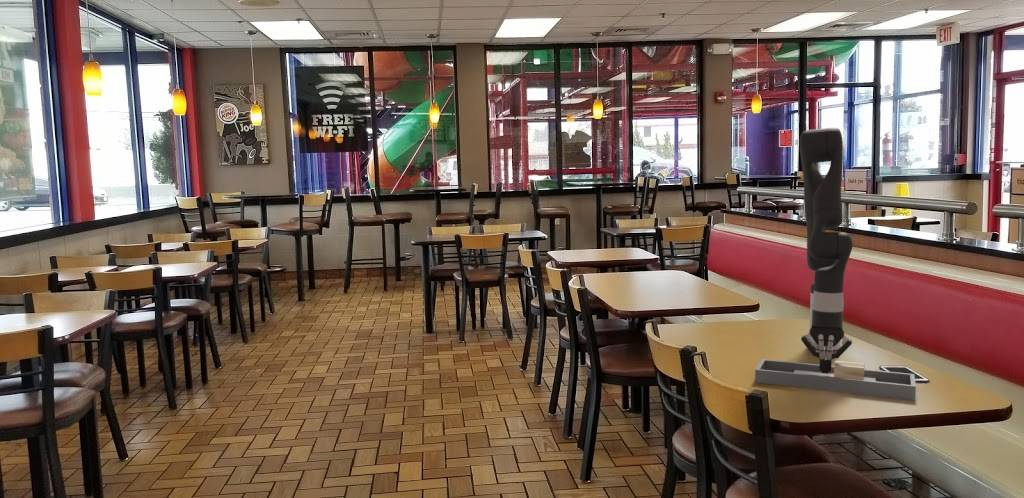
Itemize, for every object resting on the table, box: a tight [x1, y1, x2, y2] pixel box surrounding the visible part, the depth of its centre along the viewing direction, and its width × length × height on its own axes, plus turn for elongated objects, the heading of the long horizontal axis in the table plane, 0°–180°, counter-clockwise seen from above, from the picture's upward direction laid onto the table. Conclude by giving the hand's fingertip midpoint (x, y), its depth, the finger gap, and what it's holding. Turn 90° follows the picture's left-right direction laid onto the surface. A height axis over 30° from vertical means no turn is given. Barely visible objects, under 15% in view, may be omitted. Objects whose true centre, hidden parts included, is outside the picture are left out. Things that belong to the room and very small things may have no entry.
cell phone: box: [878, 365, 930, 384], centre depth 213 cm, size 8×15×1 cm, turn 177°
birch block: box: [833, 360, 866, 380], centre depth 202 cm, size 5×7×4 cm
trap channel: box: [754, 358, 917, 401], centre depth 204 cm, size 12×38×4 cm, turn 64°
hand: (825, 372), depth 205 cm, fingers closed
